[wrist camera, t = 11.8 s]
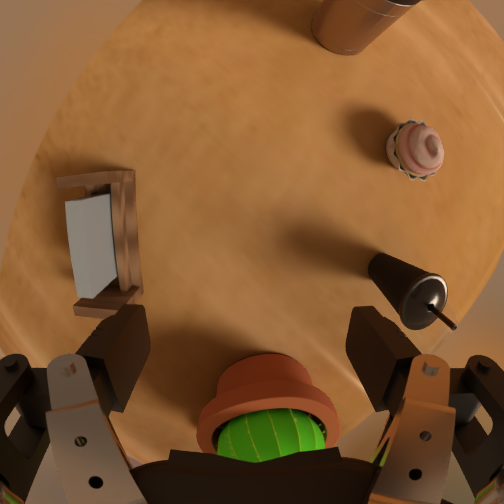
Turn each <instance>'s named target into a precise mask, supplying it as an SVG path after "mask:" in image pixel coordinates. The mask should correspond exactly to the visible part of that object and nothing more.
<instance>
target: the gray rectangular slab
mask: <svg viewBox="0 0 504 504" xmlns="http://www.w3.org/2000/svg"><path fill="white" fill-rule="evenodd" d="M65 210H66V222H67V232H68V240H69V248H70V255H71V262H72V268H73V274H74V279H75V285H76V290H77V294H78V297H81V298H92V299H93V298H94V297H95V296H96V295H97V294H98V293H100V292H101V291H102V290H103V289H104V288H105V287H106V286H107V285H108V284H109V283H110V282H111V281H112V280H114V279H115V278H116V277H117V276H118V270H117V262H116V254H115V244H114V234H113V221H112V205H111V193H103V194H97V195H93V196H88V197H83V198H79V199H74V200H70V201H66V202H65Z"/></svg>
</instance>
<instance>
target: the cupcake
mask: <svg viewBox="0 0 504 504" xmlns="http://www.w3.org/2000/svg"><path fill="white" fill-rule="evenodd" d="M386 153H387V156H388V159H389V161H390V162H391V164H392V165H393V166H394V167H395V168H397V169H399V170H400V171H402V172H404V173H406V175H407V176H408V177H409V178H410V179H411V180H415V179H417V178H418V179H420V180H421V181H425V180H426V179H427V177H428V176H433V175H435V173H436V171H437V170H438V169H439V168H440V167H441V165H442V162H443V158H444V149H443V146H442V142H441V140H440V137H439V135H438V134H437V132H436V131H435V130H434V129H432V128H431V127H429V126H426V124H425V122H424V121H419V122H416V121H415V120H414V119H411V118H410V119H408V121H407V122H406V123H399V124H398V127H397V129H396V130H395V131H394V132H393V133H392V134H391V135H390V136H389V138H388V140H387V143H386Z"/></svg>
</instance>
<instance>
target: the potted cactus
mask: <svg viewBox="0 0 504 504" xmlns="http://www.w3.org/2000/svg"><path fill="white" fill-rule="evenodd" d="M340 432H341V426H340V421H339V419H338V416H337V413H336V410H335V407H334V405H333V403H332V401H331V400H330V398H329V397H328V396H327V395H326V394H325V393H324V392H322V391H321V390H319V389H318V388H316V387H314V386H313V385H312V382H311V378H310V376H309V374H308V372H307V370H306V369H305V368H304V367H303V366H302V365H301V364H300V363H299V362H298V361H296V360H294V359H293V358H291V357H288V356H285V355H280V354H261V355H256V356H252V357H248V358H245V359H243V360H240V361H238V362H236V363H234V364H233V365H231V366H230V367H228V368H227V369H226V370H225V371H224V372H223V373H222V375H221V376H220V378H219V380H218V384H217V392H216V398H214V399H212V400H211V401H210V402H209V403H208V404H207V405H205V407H204V408H203V409H202V411H201V413H200V416H199V420H198V427H197V435H196V436H197V442H198V444H199V446H200V448H201V450H202V451H203V452H204V453H212V454H216V455H220V456H224V457H229V458H233V459H238V460H243V461H248V462H254V463H255V462H262V461H267V460H271V459H275V458H278V457H282V456H286V455H289V454H293V453H296V452H301V451H311V450H319V449H326V448H333V447H334V446H335V444H336V443H337V441H338V439H339V436H340Z"/></svg>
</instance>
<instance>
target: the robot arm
mask: <svg viewBox="0 0 504 504" xmlns="http://www.w3.org/2000/svg"><path fill="white" fill-rule="evenodd" d="M420 1H421V0H323V1H322V3H321V5H320V7H319V8H318V10H317V12H316V14H315V16H314V18H313V20H312V24H311V26H312V32H313V34H314V36H315V38H316V39H317V40H318V42H319V43H320V44H321V45H323V46H324V47H325V48H327V49H328V50H330V51H332V52H334V53H337V54H341V55H355V54H358V53H360V52H361V51H362V50H364V49H365V48H366V47H367V46H368V45H369V44H370V43H371V42H373V41H374V40H375V39H376V38H377V37H378V36H379V35H380V34H382V33H383V32H384V31H385V30H386V29H387V28H388V27H390V26H391V25H392V24H393V23H394V22H395V21H397V20H398V19H399V18H400V17H401V16H403V15H404V14H405V13H406V12H407V11H408V10H410V9H411V8H412V7H413V6H415V5H416V4H417V3H418V2H420ZM149 352H150V337H149V331H148V325H147V319H146V313H145V308H144V306H143V305H137V304H123V305H122V306H121V308H120V309H119V310H118V311H117V313H116V314H115V315H111V316H109V317H107V318H106V319H104V320H102V321H101V323H100V324H99V325H98V326H97V327H96V330H94V331H93V332H92V333H91V336H89V337H88V338H87V340H86V341H85V342H84V343H83V344H82V346H81V347H80V348H79V349H78V351H77V352H76V353H75V354H64V355H61V356H58V357H56V358H55V359H53V360H52V361H51V362H50V363H49V365H48V367H47V368H31V366H30V364H29V361H28V359H27V357H25V356H24V355H22V354H11V355H8V356H6V357H4V358H2V359H1V360H0V504H25V501H26V498H27V496H28V493H29V491H30V488H31V486H32V483H33V480H34V478H35V476H36V473H37V471H38V468H39V466H40V464H41V461H42V459H43V457H44V455H45V453H46V450H47V448H48V446H49V444H50V442H51V447H52V451H53V455H54V459H55V463H56V467H57V470H58V474H59V478H60V481H61V484H62V487H63V490H64V493H65V496H66V499H67V502H68V504H453V503H451V502H448V501H446V500H443V499H442V495H443V491H444V487H445V483H446V478H447V474H448V468H449V463H450V457H451V451H452V452H453V453H454V455H455V457H456V459H457V461H458V463H459V465H460V467H461V469H462V471H463V474H464V475H465V478H466V480H467V482H468V484H469V486H470V488H471V490H472V493H473V495H474V497H475V503H474V504H504V371H503V370H502V369H501V368H500V367H499V366H498V365H497V363H495V362H494V361H493V360H492V359H490V358H488V357H486V356H482V355H474V356H472V357H470V358H469V360H468V362H467V364H466V366H465V368H450V367H449V365H448V364H447V363H446V361H444V360H443V359H442V358H440V357H438V356H435V355H431V354H421V352H420V351H419V350H418V349H417V348H416V347H415V345H414V344H413V343H412V342H411V341H410V340H409V339H408V337H406V335H405V334H404V333H403V332H402V331H401V329H400V328H399V327H398V326H397V325H396V324H395V323H394V322H392V321H391V320H389V319H387V318H386V317H383V316H382V315H381V314H380V313H379V312H378V311H377V310H376V308H375V307H374V306H359V307H354V308H353V310H352V313H351V319H350V324H349V329H348V333H347V338H346V353H347V356H348V358H349V360H350V362H351V364H352V366H353V368H354V370H355V372H356V373H357V375H358V377H359V379H360V381H361V383H362V385H363V387H364V389H365V391H366V393H367V395H368V397H369V399H370V401H371V403H372V405H373V407H374V409H375V411H376V412H380V411H384V410H389V412H390V414H389V416H388V418H387V420H386V423H385V426H384V428H383V431H382V433H381V436H380V438H379V441H378V443H377V445H376V448H375V450H374V452H373V455H372V457H371V459H370V461H369V462H367V461H364V460H360V459H355V458H348V457H341V455H340V452H339V449H338V447H333V448H326V449H319V450H311V451H301V452H296V453H293V454H289V455H286V456H282V457H278V458H275V459H271V460H267V461H262V462H255V463H254V462H248V461H243V460H238V459H233V458H229V457H224V456H220V455H216V454H212V453H200V452H189V451H180V450H170V454H169V459H168V460H162V461H156V462H151V463H147V464H144V465H141V466H138V467H136V468H133V466H132V464H131V463H130V461H129V459H128V457H127V455H126V453H125V451H124V449H123V447H122V445H121V443H120V441H119V439H118V437H117V434H116V432H115V430H114V428H113V425H112V423H111V421H110V419H109V417H108V416H109V414H110V412H111V410H112V411H116V412H121V413H123V412H124V409H125V407H126V405H127V402H128V400H129V398H130V395H131V393H132V391H133V388H134V386H135V384H136V382H137V379H138V377H139V375H140V373H141V371H142V368H143V366H144V364H145V362H146V360H147V357H148V355H149ZM481 404H482V406H483V407H484V408H485V410H486V411H487V412H488V414H489V415H490V417H491V418H492V421H493V428H492V431H491V432H490V434H489V435H487V434H486V432H485V431H484V429H483V428H482V426H481V424H480V423H479V422H478V420H477V418H476V417H475V414H476V412H477V411H478V409H479V408H480V406H481ZM14 407H16V409H17V410H18V412H19V413H20V415H21V416H20V418H19V420H18V421H17V423H16V425H15V426H14V428H13V430H12V431H11V433H10V435H9V437H7V435H6V433H5V428H4V425H5V421H6V419H7V417H8V416H9V415H10V413H11V412H12V410H13V408H14Z"/></svg>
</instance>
